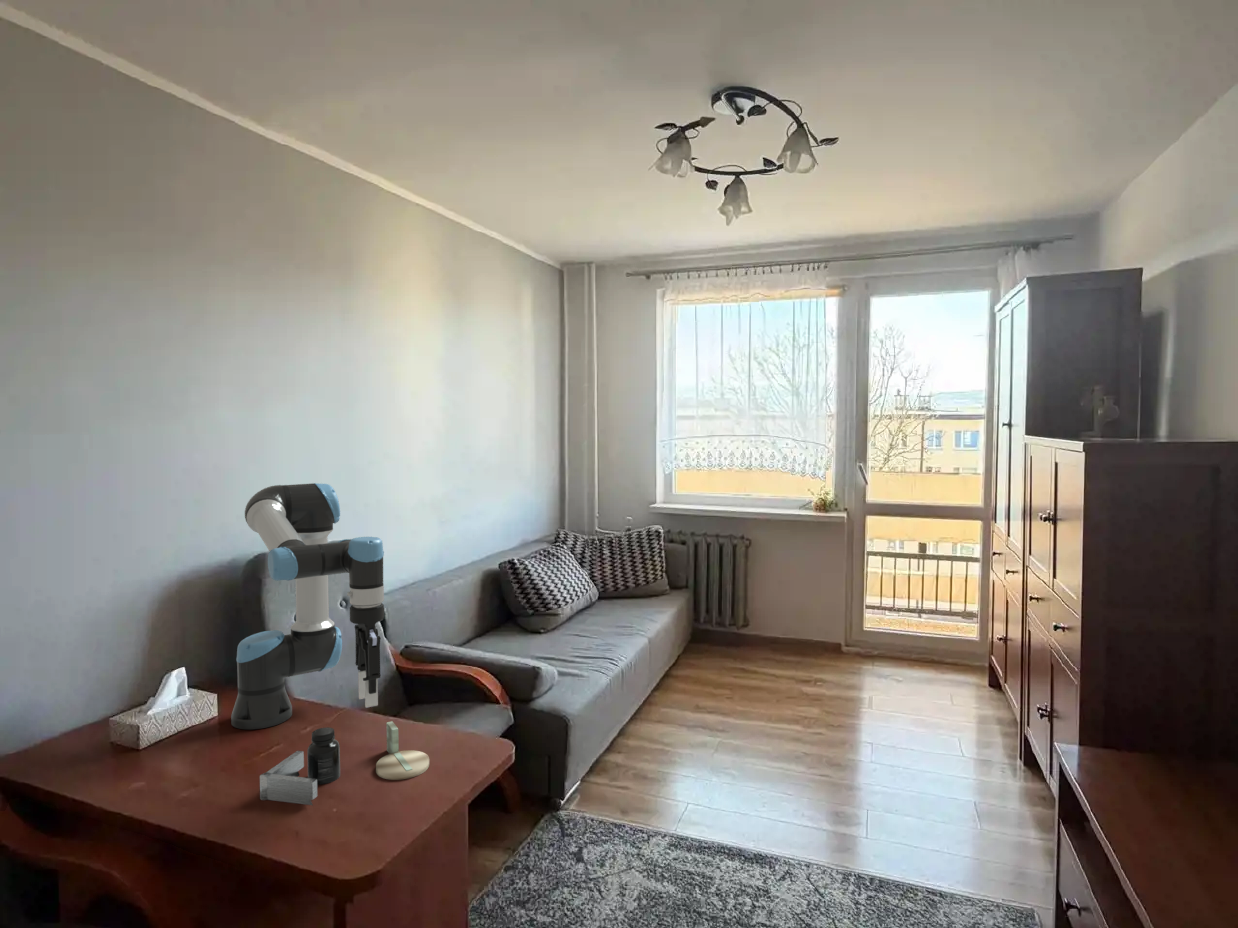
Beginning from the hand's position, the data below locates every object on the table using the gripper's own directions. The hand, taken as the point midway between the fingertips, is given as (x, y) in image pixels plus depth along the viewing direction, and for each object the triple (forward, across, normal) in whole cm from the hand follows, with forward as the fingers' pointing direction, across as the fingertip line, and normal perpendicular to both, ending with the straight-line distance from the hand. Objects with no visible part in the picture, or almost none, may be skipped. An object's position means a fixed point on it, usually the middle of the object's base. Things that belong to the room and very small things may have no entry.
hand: (368, 701), depth 169 cm
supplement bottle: (+17, 0, -10) cm, 20 cm away
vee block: (+17, 0, -18) cm, 25 cm away
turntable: (+15, +3, +6) cm, 17 cm away
